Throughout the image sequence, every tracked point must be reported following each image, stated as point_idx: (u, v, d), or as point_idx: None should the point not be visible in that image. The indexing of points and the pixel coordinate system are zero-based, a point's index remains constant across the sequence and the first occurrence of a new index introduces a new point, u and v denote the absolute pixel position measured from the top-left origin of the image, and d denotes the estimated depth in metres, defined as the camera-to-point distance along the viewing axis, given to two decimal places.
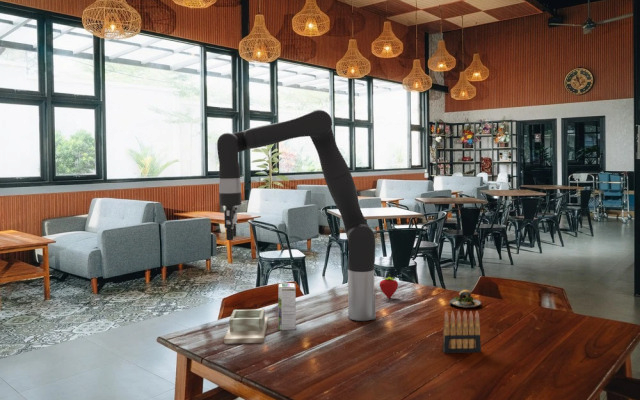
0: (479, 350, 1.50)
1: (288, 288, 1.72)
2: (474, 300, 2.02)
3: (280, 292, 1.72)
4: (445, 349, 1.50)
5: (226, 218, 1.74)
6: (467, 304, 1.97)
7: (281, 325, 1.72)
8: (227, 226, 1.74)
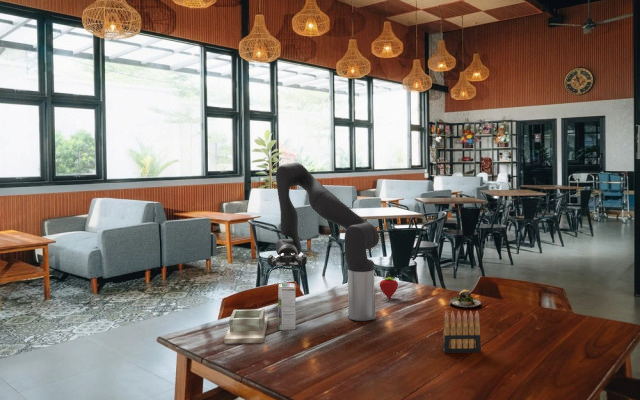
0: (479, 350, 1.50)
1: (288, 288, 1.72)
2: (474, 300, 2.02)
3: (280, 292, 1.72)
4: (445, 349, 1.50)
5: None
6: (467, 304, 1.97)
7: (281, 325, 1.72)
8: None
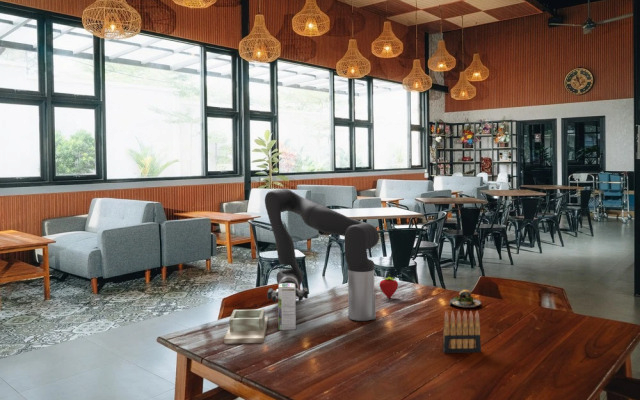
0: (479, 350, 1.50)
1: (288, 288, 1.72)
2: (474, 300, 2.02)
3: (280, 292, 1.72)
4: (445, 349, 1.50)
5: None
6: (467, 304, 1.97)
7: (281, 325, 1.72)
8: (267, 296, 1.84)
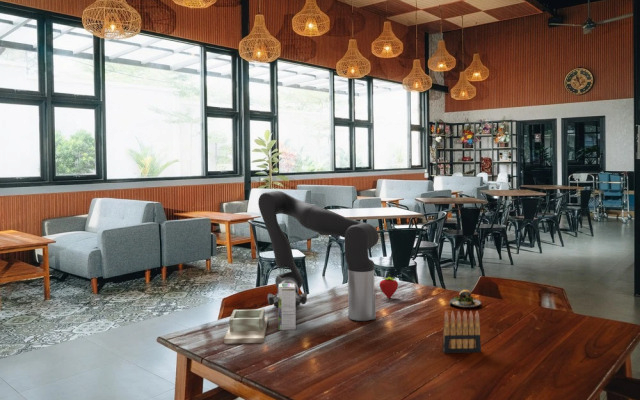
0: (479, 350, 1.50)
1: (288, 288, 1.72)
2: (474, 300, 2.02)
3: (280, 292, 1.72)
4: (445, 349, 1.50)
5: (268, 300, 1.80)
6: (467, 304, 1.97)
7: (281, 325, 1.72)
8: (269, 301, 1.77)
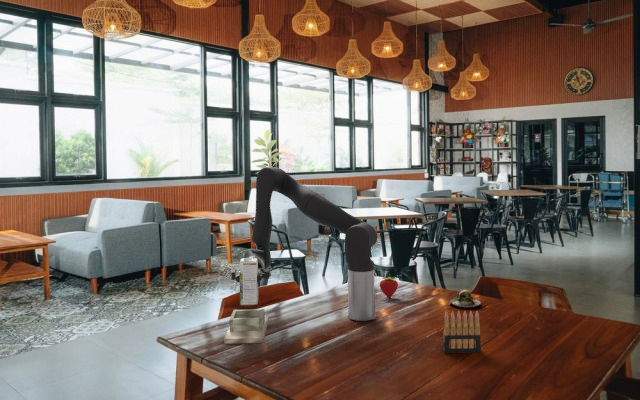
0: (479, 350, 1.50)
1: (249, 262, 1.69)
2: (474, 300, 2.02)
3: (241, 266, 1.69)
4: (445, 349, 1.50)
5: None
6: (467, 304, 1.97)
7: (243, 300, 1.70)
8: (231, 276, 1.74)
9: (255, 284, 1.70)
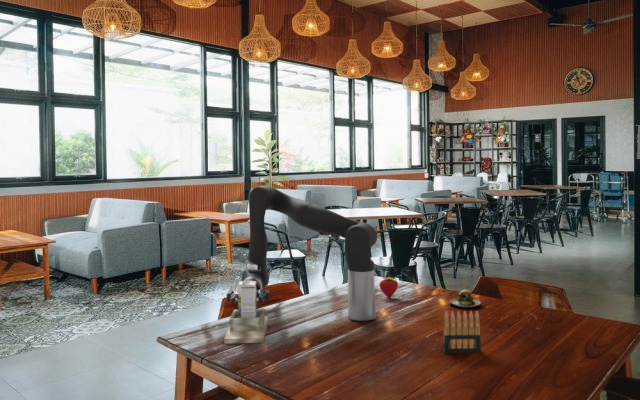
0: (479, 350, 1.50)
1: (248, 286, 1.69)
2: (474, 300, 2.02)
3: (239, 290, 1.69)
4: (445, 349, 1.50)
5: None
6: (467, 304, 1.97)
7: None
8: None
9: (253, 307, 1.70)
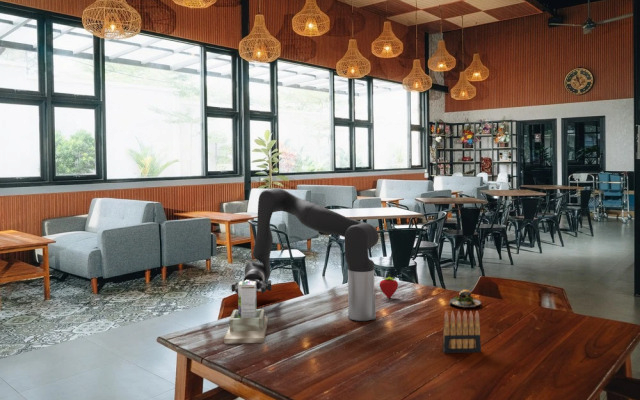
0: (479, 350, 1.50)
1: (248, 286, 1.69)
2: (474, 300, 2.01)
3: (240, 290, 1.69)
4: (445, 349, 1.50)
5: None
6: (467, 304, 1.97)
7: None
8: None
9: (253, 307, 1.70)
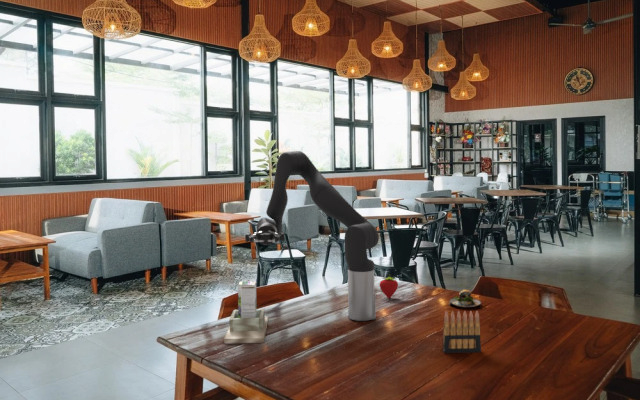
0: (479, 350, 1.50)
1: (248, 286, 1.69)
2: (474, 300, 2.01)
3: (239, 290, 1.69)
4: (445, 349, 1.50)
5: None
6: (467, 304, 1.97)
7: None
8: None
9: (253, 307, 1.70)
